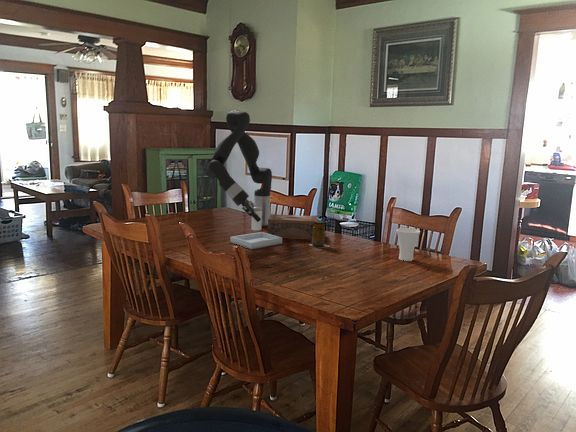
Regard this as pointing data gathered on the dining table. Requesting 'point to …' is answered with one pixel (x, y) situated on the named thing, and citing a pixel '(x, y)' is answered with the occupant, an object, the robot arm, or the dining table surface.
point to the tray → (256, 240)
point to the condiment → (318, 235)
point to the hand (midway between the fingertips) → (260, 219)
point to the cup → (407, 242)
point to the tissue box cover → (291, 226)
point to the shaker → (254, 223)
